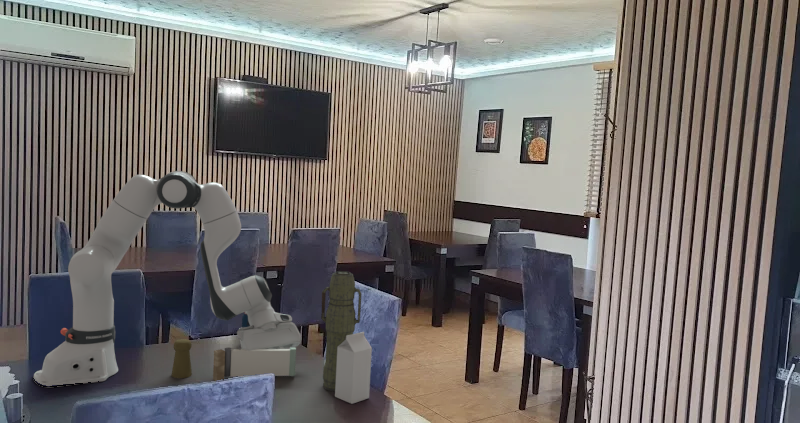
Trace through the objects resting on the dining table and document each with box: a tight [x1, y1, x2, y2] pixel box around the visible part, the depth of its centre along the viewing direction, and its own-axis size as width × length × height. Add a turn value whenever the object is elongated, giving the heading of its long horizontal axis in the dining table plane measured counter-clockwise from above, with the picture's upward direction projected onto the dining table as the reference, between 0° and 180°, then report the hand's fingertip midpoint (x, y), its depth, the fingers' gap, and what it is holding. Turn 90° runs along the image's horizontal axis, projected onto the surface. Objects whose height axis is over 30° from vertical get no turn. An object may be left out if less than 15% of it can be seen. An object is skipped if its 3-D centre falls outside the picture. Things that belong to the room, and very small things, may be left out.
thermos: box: [321, 270, 362, 392], centre depth 189 cm, size 9×12×35 cm
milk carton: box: [334, 331, 373, 405], centre depth 180 cm, size 7×7×19 cm
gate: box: [224, 347, 297, 378], centre depth 193 cm, size 22×2×9 cm, turn 102°
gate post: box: [212, 349, 225, 382], centre depth 189 cm, size 2×2×9 cm
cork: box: [170, 338, 193, 379], centre depth 192 cm, size 6×6×11 cm
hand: (279, 361), depth 197 cm, fingers closed
